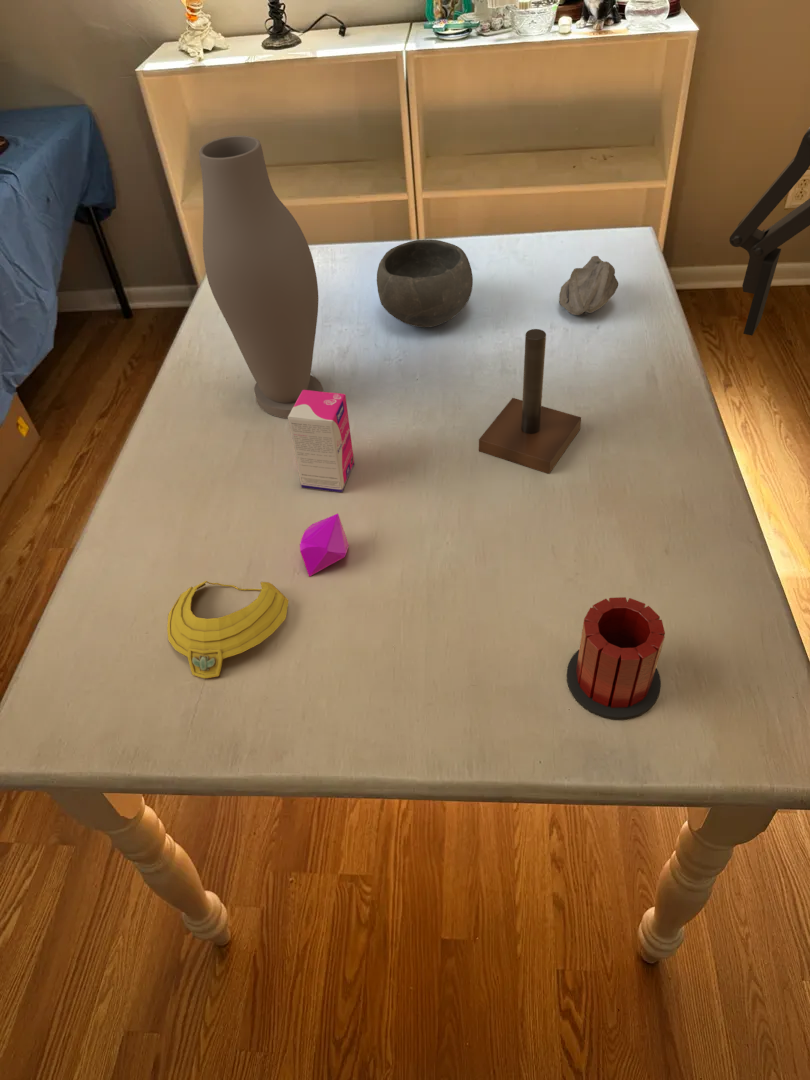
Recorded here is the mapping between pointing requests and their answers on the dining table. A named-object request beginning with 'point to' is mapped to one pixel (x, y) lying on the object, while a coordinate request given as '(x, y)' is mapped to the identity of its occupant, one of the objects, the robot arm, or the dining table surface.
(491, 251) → the dining table surface
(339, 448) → the supplement box
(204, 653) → the necklace
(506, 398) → the dining table surface
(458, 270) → the bowl
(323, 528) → the crystal
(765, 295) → the robot arm
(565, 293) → the fossil
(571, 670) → the mat
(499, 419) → the ring holder
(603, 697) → the ring
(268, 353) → the vase
